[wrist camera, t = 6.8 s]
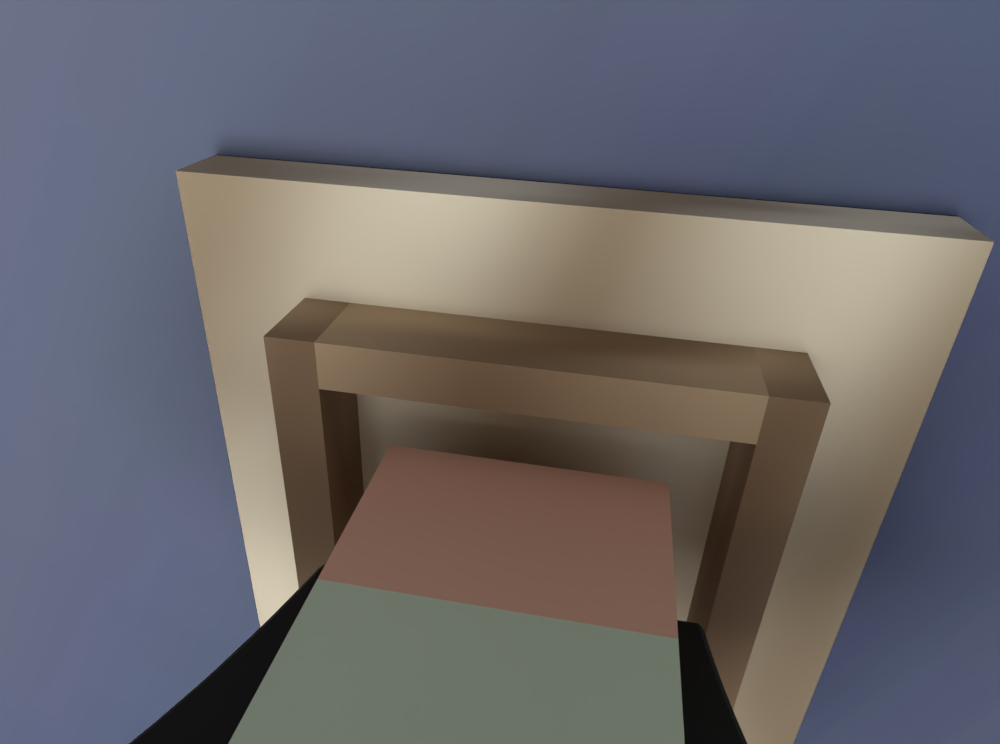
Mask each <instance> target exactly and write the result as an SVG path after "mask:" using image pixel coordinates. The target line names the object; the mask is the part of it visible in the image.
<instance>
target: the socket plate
mask: <svg viewBox="0 0 1000 744" xmlns="http://www.w3.org/2000/svg"><path fill="white" fill-rule="evenodd" d="M176 175H177V181H178V186H179V191H180V197H181V202H182V208H183V213H184V218H185V224H186V229H187V235H188V240H189V245H190V251H191V256H192V262H193V267H194V272H195V278H196V283H197V289H198V294H199V299H200V305H201V310H202V315H203V321H204V326H205V332H206V337H207V342H208V348H209V353H210V359H211V364H212V369H213V375H214V380H215V386H216V391H217V396H218V402H219V407H220V413H221V418H222V423H223V429H224V434H225V440H226V445H227V450H228V456H229V461H230V466H231V472H232V477H233V483H234V488H235V493H236V499H237V504H238V510H239V515H240V520H241V526H242V531H243V537H244V542H245V547H246V553H247V558H248V564H249V569H250V574H251V580H252V585H253V591H254V596H255V601H256V607H257V612H258V617H259V623H260V627H261V626H262V625H263V624H264V623H265V622H266V621H267V620H268V619H269V618H270V617H271V616H272V615H273V614H274V613H275V612H276V611H277V610H278V609H279V608H280V607H281V606H282V605H283V604H284V603H285V602H286V601H287V600H288V599H289V598H290V597H291V596H292V595H293V594H294V593H295V592H296V591H297V590H298V589H299V588H300V587H301V586H302V585H303V584H304V583H305V582H306V581H307V580H308V579H309V578H310V577H311V576H312V575H313V574H314V573H315V572H316V571H317V569H318V568H319V567H321V566H322V565H324V564H325V563H326V562H327V560H328V559H329V557H330V555H331V553H332V551H333V549H334V547H335V546H336V544H337V542H338V540H339V538H340V536H341V535H342V533H343V531H344V529H345V527H346V525H347V523H348V522H349V520H350V518H351V516H352V514H353V512H354V511H355V509H356V507H357V505H358V503H359V501H360V499H361V498H362V496H363V494H364V492H365V490H366V488H367V487H368V485H369V483H370V481H371V479H372V477H373V475H374V474H375V472H376V470H377V468H378V466H379V464H380V463H381V461H382V459H383V457H384V455H385V453H386V451H387V450H388V448H389V446H390V445H395V446H402V447H409V448H416V449H424V450H431V451H438V452H445V453H453V454H460V455H467V456H474V457H482V458H489V459H496V460H503V461H511V462H518V463H525V464H532V465H539V466H547V467H554V468H561V469H568V470H576V471H583V472H590V473H597V474H605V475H612V476H619V477H626V478H634V479H641V480H648V481H655V482H662V483H669V495H670V511H671V527H672V544H673V560H674V576H675V593H676V609H677V620H680V621H687V622H693V623H698V624H699V625H700V626H701V627H702V628H703V629H704V631H705V634H706V638H707V641H708V644H709V647H710V650H711V653H712V656H713V659H714V662H715V665H716V667H717V670H718V673H719V676H720V678H721V681H722V684H723V686H724V689H725V691H726V694H727V696H728V699H729V701H730V704H731V706H732V709H733V711H734V714H735V716H736V718H737V721H738V723H739V725H740V728H741V730H742V732H743V735H744V737H745V739H746V742H747V744H793V743H794V740H795V738H796V735H797V733H798V730H799V728H800V725H801V723H802V720H803V718H804V715H805V713H806V711H807V708H808V706H809V703H810V701H811V698H812V696H813V693H814V691H815V688H816V686H817V683H818V681H819V678H820V676H821V673H822V671H823V668H824V666H825V663H826V661H827V658H828V656H829V653H830V651H831V648H832V646H833V643H834V641H835V638H836V636H837V633H838V631H839V628H840V626H841V623H842V621H843V618H844V616H845V613H846V611H847V608H848V606H849V603H850V601H851V598H852V596H853V593H854V591H855V588H856V586H857V583H858V581H859V578H860V576H861V573H862V571H863V568H864V566H865V563H866V561H867V558H868V556H869V553H870V551H871V548H872V546H873V543H874V541H875V538H876V536H877V533H878V531H879V528H880V526H881V523H882V521H883V518H884V516H885V514H886V511H887V509H888V506H889V504H890V501H891V499H892V496H893V494H894V491H895V489H896V486H897V484H898V481H899V479H900V476H901V474H902V471H903V469H904V466H905V464H906V461H907V459H908V456H909V454H910V451H911V449H912V446H913V444H914V441H915V439H916V436H917V434H918V431H919V429H920V426H921V424H922V421H923V419H924V416H925V414H926V411H927V409H928V406H929V404H930V401H931V399H932V396H933V394H934V391H935V389H936V386H937V384H938V381H939V379H940V376H941V374H942V371H943V369H944V366H945V364H946V361H947V359H948V356H949V354H950V351H951V349H952V346H953V344H954V341H955V339H956V336H957V334H958V331H959V329H960V326H961V324H962V321H963V319H964V317H965V314H966V312H967V309H968V307H969V304H970V302H971V299H972V297H973V294H974V292H975V289H976V287H977V284H978V282H979V279H980V277H981V274H982V272H983V269H984V267H985V264H986V262H987V259H988V257H989V254H990V252H991V249H992V247H993V244H994V241H992V240H991V239H989V238H988V237H987V236H985V235H984V234H982V233H981V232H980V231H978V230H977V229H976V228H974V227H973V226H971V225H970V224H969V223H967V222H966V221H964V220H963V219H962V218H960V217H955V216H943V215H931V214H919V213H907V212H895V211H883V210H871V209H859V208H847V207H835V206H823V205H811V204H799V203H787V202H775V201H763V200H751V199H739V198H726V197H714V196H702V195H690V194H678V193H666V192H654V191H642V190H630V189H618V188H606V187H594V186H582V185H570V184H558V183H546V182H534V181H522V180H510V179H498V178H486V177H474V176H461V175H449V174H437V173H425V172H413V171H401V170H389V169H377V168H365V167H353V166H341V165H329V164H317V163H305V162H293V161H281V160H269V159H257V158H245V157H233V156H221V155H214V156H212V157H209V158H207V159H204V160H202V161H199V162H197V163H194V164H192V165H189V166H187V167H184V168H182V169H179V170H177V171H176Z"/></svg>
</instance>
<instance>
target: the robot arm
mask: <svg viewBox="0 0 1000 744" xmlns="http://www.w3.org/2000/svg"><path fill="white" fill-rule="evenodd" d="M325 564H326V563H325ZM325 564H324V565H322V566H321V567H319V568H318V569H317V571H316V572H315V573H314V574H313V575H312V576H311V577H310V578H309V579H308V580H307V581H306V582H305V583H304V584H303V585H302V586H301V587H300V588H299V589H298V590H297V591H296V592H295V593H294V594H293V595H292V596H291V597H290V598H289V599H288V600H287V601H286V602H285V603H284V604H283V605H282V606H281V607H280V608H279V609H278V610H277V611H276V612H275V613H274V614H273V615H272V616H271V617H270V618H269V619H268V620H267V621H266V622H265V623H264V624H263V625H262V626H261V627H260V628H259V629H258V630H257V631H256V632H255V633H254V634H253V635H252V636H251V637H250V638H249V639H248V640H247V641H246V642H244V643H243V644H242V645H241V646H240V647H239V648H238V649H237V650H236V651H235V652H234V653H233V654H232V655H231V656H230V657H229V658H228V659H226V660H225V661H224V662H223V663H222V664H221V665H220V666H219V667H218V668H217V669H216V670H215V671H214V672H213V673H211V674H210V675H209V676H208V677H207V678H206V679H205V680H204V681H203V682H201V683H200V684H199V685H198V686H197V687H196V688H194V689H193V690H192V691H191V692H190V693H189V694H188V695H186V696H185V697H184V698H183V699H182V700H181V701H179V702H178V703H177V704H176V705H175V706H174V707H172V708H171V709H170V710H169V711H168V712H167V713H166V714H164V715H163V716H162V717H161V718H160V719H159V720H157V721H156V722H155V723H154V724H153V725H151V726H150V727H149V728H148V729H147V730H145V731H144V732H143V733H142V734H140V735H139V736H138V737H137V738H135V739H134V740H133V741H132V742H131V743H129V744H228V743H229V741H230V740H231V738H232V736H233V734H234V732H235V730H236V728H237V727H238V725H239V723H240V721H241V719H242V717H243V716H244V714H245V712H246V710H247V708H248V706H249V704H250V703H251V701H252V699H253V697H254V695H255V693H256V692H257V690H258V688H259V686H260V684H261V682H262V680H263V679H264V677H265V675H266V673H267V671H268V669H269V668H270V666H271V664H272V662H273V660H274V658H275V656H276V655H277V653H278V651H279V649H280V647H281V645H282V644H283V642H284V640H285V638H286V636H287V634H288V632H289V631H290V629H291V627H292V625H293V623H294V621H295V620H296V618H297V616H298V614H299V612H300V610H301V608H302V607H303V605H304V603H305V601H306V599H307V597H308V596H309V594H310V592H311V590H312V588H313V586H314V584H315V583H316V581H317V579H318V577H319V575H320V573H321V571H322V570H323V568H324V566H325ZM677 625H678V642H679V658H680V674H681V691H682V707H683V723H684V740H685V744H747V742H746V739H745V737H744V735H743V732H742V730H741V728H740V725H739V723H738V721H737V718H736V716H735V714H734V711H733V709H732V706H731V704H730V701H729V699H728V696H727V694H726V691H725V689H724V686H723V684H722V681H721V678H720V676H719V673H718V670H717V667H716V665H715V662H714V659H713V656H712V653H711V650H710V647H709V644H708V641H707V638H706V634H705V631H704V629H703V628H702V627H701V626H700V625H699V624H698V623H693V622H687V621H680V620H677Z"/></svg>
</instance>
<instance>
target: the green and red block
mask: <svg viewBox="0 0 1000 744" xmlns="http://www.w3.org/2000/svg"><path fill="white" fill-rule="evenodd" d="M228 744H685V740H684V723H683V707H682V691H681V674H680V658H679V642H678V625H677V609H676V593H675V576H674V560H673V544H672V527H671V511H670V495H669V483H662V482H655V481H648V480H641V479H634V478H626V477H619V476H612V475H605V474H597V473H590V472H583V471H576V470H568V469H561V468H554V467H547V466H539V465H532V464H525V463H518V462H511V461H503V460H496V459H489V458H482V457H474V456H467V455H460V454H453V453H445V452H438V451H431V450H424V449H416V448H409V447H402V446H395V445H390V446H389V448H388V450H387V451H386V453H385V455H384V457H383V459H382V461H381V463H380V464H379V466H378V468H377V470H376V472H375V474H374V475H373V477H372V479H371V481H370V483H369V485H368V487H367V488H366V490H365V492H364V494H363V496H362V498H361V499H360V501H359V503H358V505H357V507H356V509H355V511H354V512H353V514H352V516H351V518H350V520H349V522H348V523H347V525H346V527H345V529H344V531H343V533H342V535H341V536H340V538H339V540H338V542H337V544H336V546H335V547H334V549H333V551H332V553H331V555H330V557H329V559H328V560H327V562H326V564H325V566H324V568H323V570H322V571H321V573H320V575H319V577H318V579H317V581H316V583H315V584H314V586H313V588H312V590H311V592H310V594H309V596H308V597H307V599H306V601H305V603H304V605H303V607H302V608H301V610H300V612H299V614H298V616H297V618H296V620H295V621H294V623H293V625H292V627H291V629H290V631H289V632H288V634H287V636H286V638H285V640H284V642H283V644H282V645H281V647H280V649H279V651H278V653H277V655H276V656H275V658H274V660H273V662H272V664H271V666H270V668H269V669H268V671H267V673H266V675H265V677H264V679H263V680H262V682H261V684H260V686H259V688H258V690H257V692H256V693H255V695H254V697H253V699H252V701H251V703H250V704H249V706H248V708H247V710H246V712H245V714H244V716H243V717H242V719H241V721H240V723H239V725H238V727H237V728H236V730H235V732H234V734H233V736H232V738H231V740H230V741H229V743H228Z"/></svg>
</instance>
